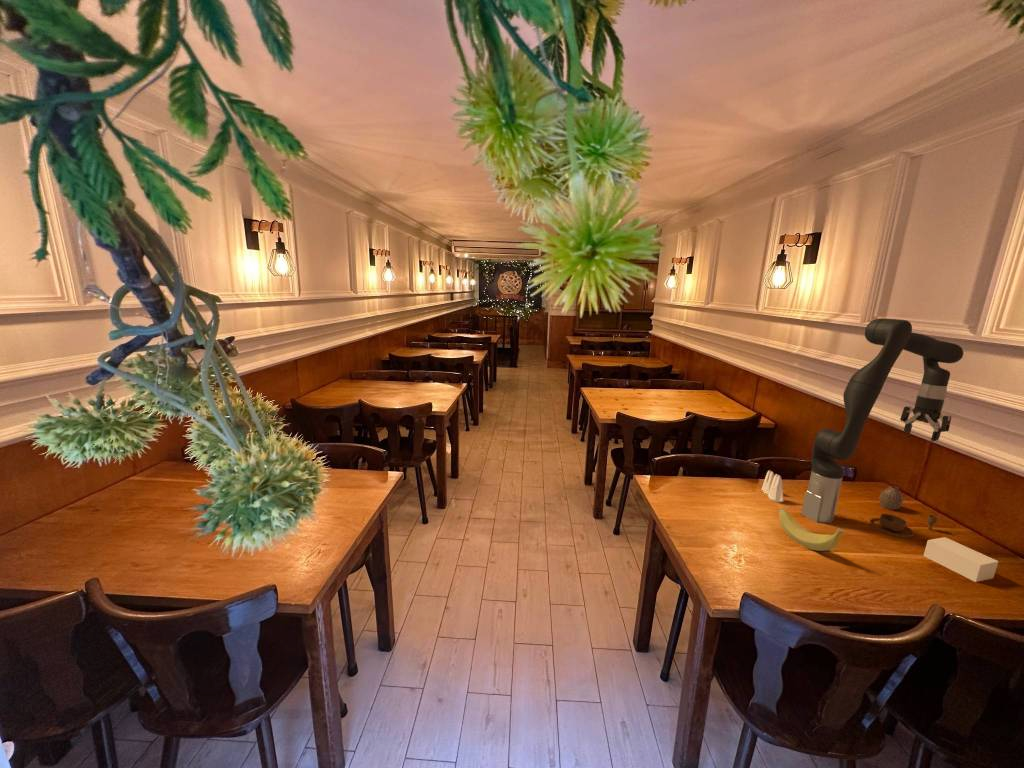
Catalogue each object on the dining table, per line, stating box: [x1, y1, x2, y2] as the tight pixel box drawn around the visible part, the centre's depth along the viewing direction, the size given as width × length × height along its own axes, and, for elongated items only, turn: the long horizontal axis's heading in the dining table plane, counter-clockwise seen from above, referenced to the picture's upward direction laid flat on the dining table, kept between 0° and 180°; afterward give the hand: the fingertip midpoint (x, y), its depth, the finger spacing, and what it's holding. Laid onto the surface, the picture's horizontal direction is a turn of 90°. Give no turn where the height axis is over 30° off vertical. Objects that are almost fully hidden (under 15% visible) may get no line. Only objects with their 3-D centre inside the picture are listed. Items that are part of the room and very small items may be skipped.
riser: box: [923, 536, 999, 583], centre depth 133 cm, size 8×13×6 cm, turn 16°
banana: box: [778, 507, 845, 552], centre depth 140 cm, size 14×6×20 cm
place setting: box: [869, 513, 938, 543], centre depth 152 cm, size 18×20×6 cm
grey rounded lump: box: [878, 485, 904, 511], centre depth 170 cm, size 7×7×9 cm
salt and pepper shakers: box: [761, 470, 784, 503], centre depth 174 cm, size 12×4×11 cm, turn 170°
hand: (920, 437), depth 166 cm, fingers open, 8 cm apart
